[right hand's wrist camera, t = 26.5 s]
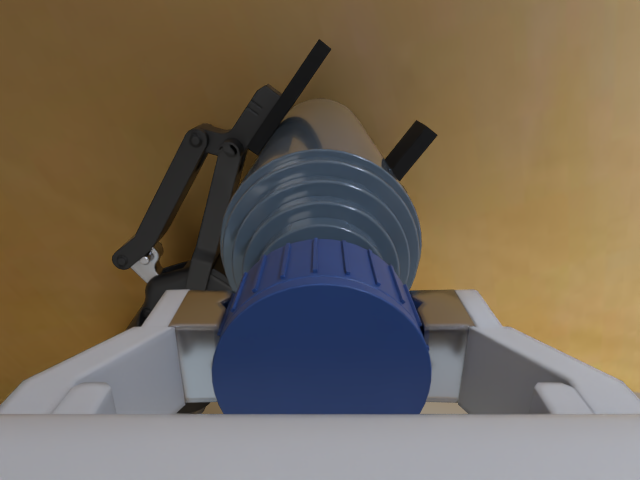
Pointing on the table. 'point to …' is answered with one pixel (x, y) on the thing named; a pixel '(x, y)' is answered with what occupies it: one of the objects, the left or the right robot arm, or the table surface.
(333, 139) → the bottle
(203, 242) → the left robot arm
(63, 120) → the table surface
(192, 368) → the right robot arm
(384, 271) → the cap
